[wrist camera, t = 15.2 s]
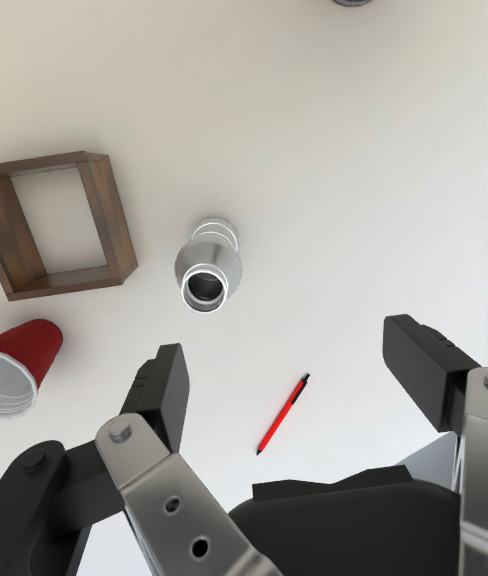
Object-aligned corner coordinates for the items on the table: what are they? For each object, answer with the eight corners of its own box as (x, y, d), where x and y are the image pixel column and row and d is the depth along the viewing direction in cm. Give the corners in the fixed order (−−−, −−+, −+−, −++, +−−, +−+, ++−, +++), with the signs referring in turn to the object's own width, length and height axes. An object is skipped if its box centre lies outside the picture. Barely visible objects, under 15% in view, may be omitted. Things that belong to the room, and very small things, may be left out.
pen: (310, 374, 52) (312, 378, 51) (258, 453, 57) (259, 459, 56) (305, 372, 52) (307, 376, 50) (254, 452, 57) (254, 457, 56)
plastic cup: (5, 360, 49) (-62, 417, 37) (5, 297, 45) (-70, 339, 34) (78, 372, 50) (34, 432, 39) (83, 312, 46) (36, 358, 35)
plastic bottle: (196, 265, 45) (171, 335, 26) (188, 217, 42) (154, 256, 23) (241, 260, 45) (249, 326, 26) (235, 212, 42) (240, 246, 23)
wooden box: (-1, 170, 39) (-50, 170, 32) (108, 154, 39) (82, 150, 32) (42, 281, 44) (8, 301, 38) (139, 267, 44) (122, 285, 37)
